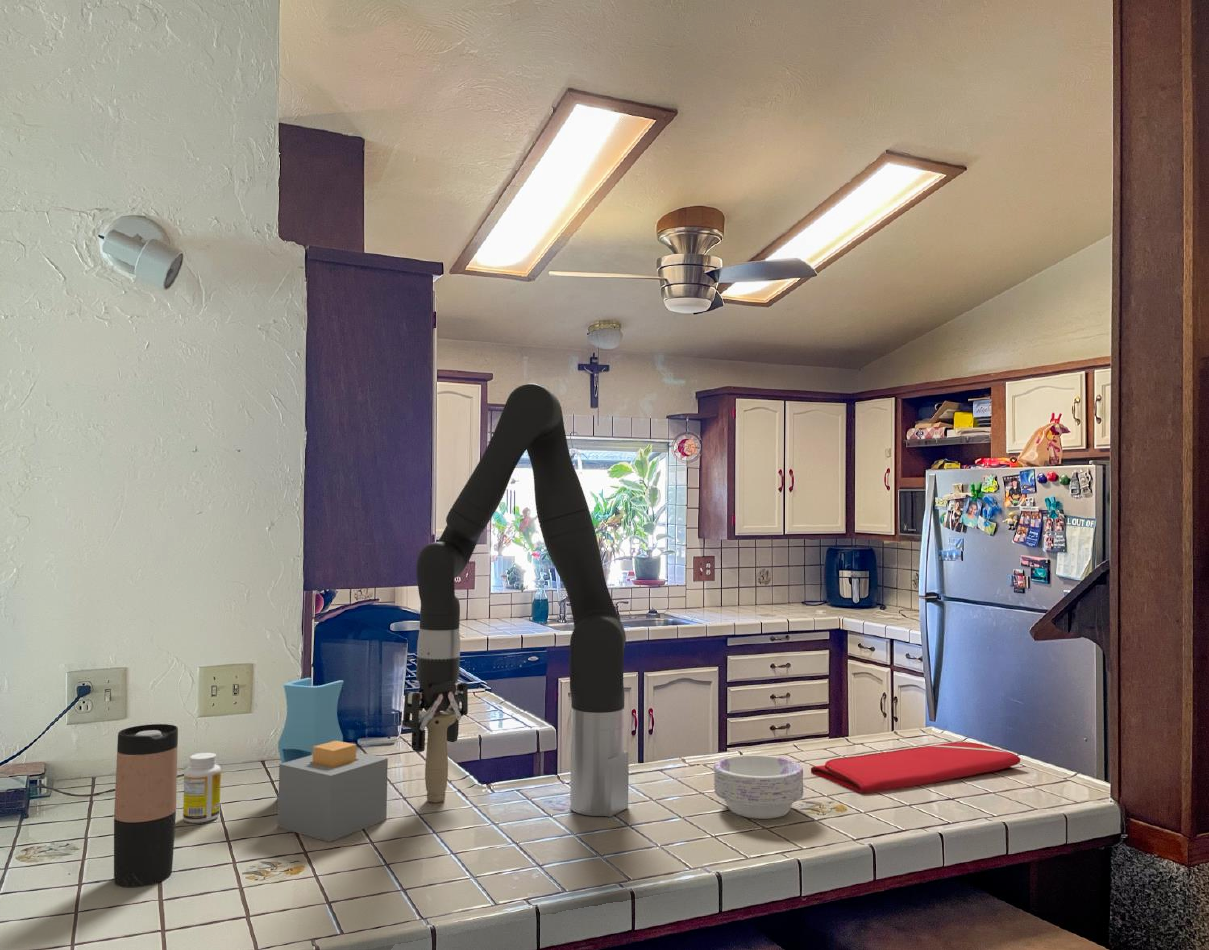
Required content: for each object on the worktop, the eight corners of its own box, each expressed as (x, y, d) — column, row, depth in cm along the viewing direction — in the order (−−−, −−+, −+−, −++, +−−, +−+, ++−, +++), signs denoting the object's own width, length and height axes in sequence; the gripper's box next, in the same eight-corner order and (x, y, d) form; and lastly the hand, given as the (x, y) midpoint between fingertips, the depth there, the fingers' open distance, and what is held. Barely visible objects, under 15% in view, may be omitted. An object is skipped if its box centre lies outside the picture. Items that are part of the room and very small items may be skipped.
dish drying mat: (809, 775, 177) (808, 756, 177) (962, 754, 194) (962, 737, 194) (862, 797, 162) (862, 777, 163) (1023, 773, 179) (1022, 754, 179)
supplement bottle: (213, 810, 150) (215, 749, 151) (224, 818, 146) (226, 756, 147) (178, 817, 147) (180, 754, 147) (188, 826, 143) (190, 761, 143)
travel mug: (126, 866, 126) (132, 723, 127) (182, 865, 127) (187, 723, 128) (101, 888, 118) (106, 737, 119) (160, 887, 119) (165, 736, 120)
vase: (341, 791, 162) (344, 680, 163) (314, 804, 154) (317, 687, 155) (305, 786, 164) (308, 677, 165) (276, 799, 157) (279, 684, 158)
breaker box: (386, 819, 147) (387, 758, 147) (329, 841, 136) (330, 775, 137) (335, 806, 153) (337, 747, 153) (277, 827, 143) (279, 763, 143)
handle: (454, 804, 155) (455, 717, 156) (416, 805, 154) (418, 717, 155) (454, 795, 160) (456, 711, 160) (418, 796, 159) (420, 712, 160)
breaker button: (355, 769, 146) (356, 744, 146) (332, 776, 142) (333, 750, 142) (335, 764, 148) (335, 740, 149) (312, 771, 144) (312, 746, 145)
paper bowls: (702, 799, 159) (702, 754, 159) (781, 795, 162) (781, 751, 162) (731, 828, 144) (731, 779, 144) (818, 823, 147) (818, 774, 148)
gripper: (426, 661, 150) (423, 758, 149) (480, 651, 162) (477, 741, 161) (394, 656, 154) (390, 751, 153) (449, 647, 166) (446, 735, 165)
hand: (435, 746), depth 157 cm, fingers open, 8 cm apart
